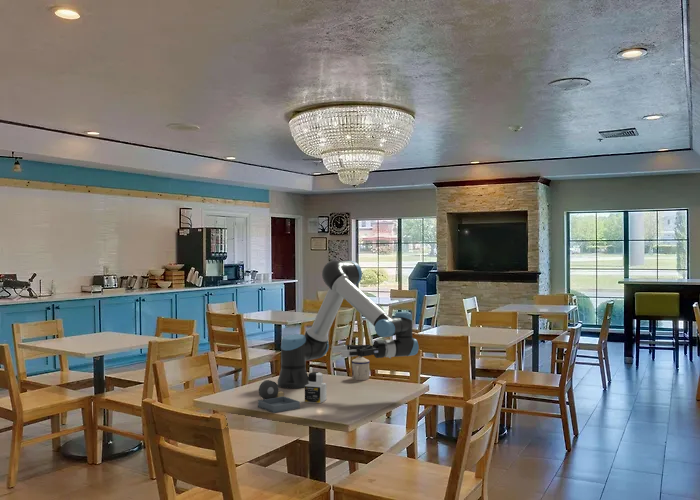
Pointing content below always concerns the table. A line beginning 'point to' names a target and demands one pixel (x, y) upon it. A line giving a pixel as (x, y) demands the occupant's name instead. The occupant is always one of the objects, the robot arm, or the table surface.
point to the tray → (278, 404)
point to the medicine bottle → (315, 388)
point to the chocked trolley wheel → (269, 390)
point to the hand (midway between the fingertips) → (336, 351)
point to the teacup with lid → (360, 368)
